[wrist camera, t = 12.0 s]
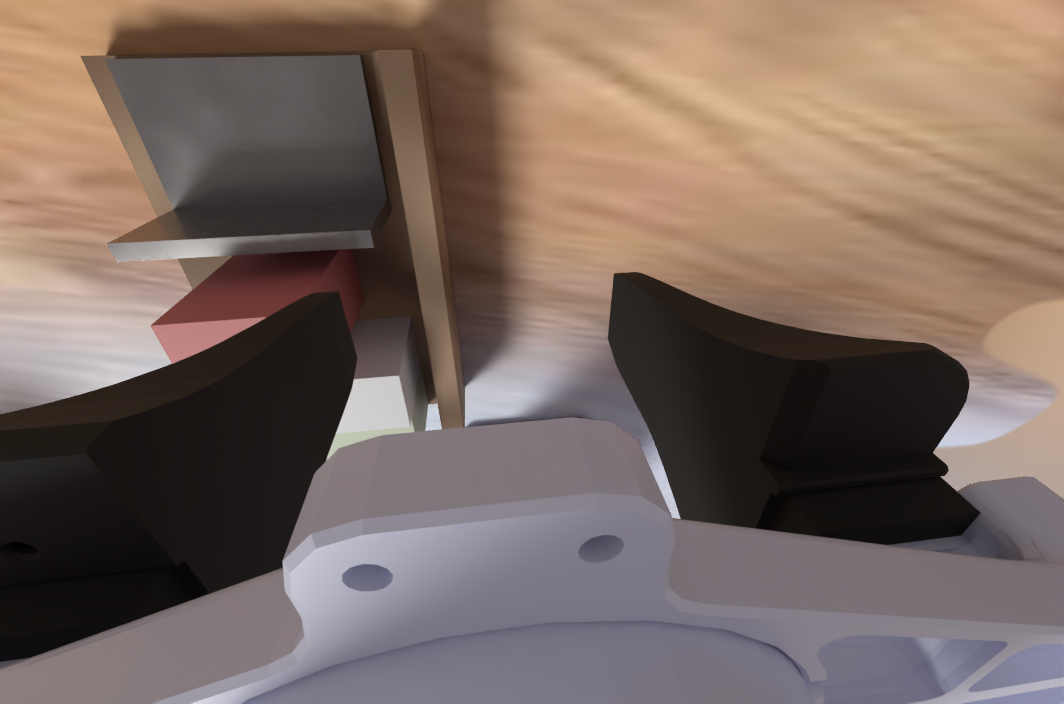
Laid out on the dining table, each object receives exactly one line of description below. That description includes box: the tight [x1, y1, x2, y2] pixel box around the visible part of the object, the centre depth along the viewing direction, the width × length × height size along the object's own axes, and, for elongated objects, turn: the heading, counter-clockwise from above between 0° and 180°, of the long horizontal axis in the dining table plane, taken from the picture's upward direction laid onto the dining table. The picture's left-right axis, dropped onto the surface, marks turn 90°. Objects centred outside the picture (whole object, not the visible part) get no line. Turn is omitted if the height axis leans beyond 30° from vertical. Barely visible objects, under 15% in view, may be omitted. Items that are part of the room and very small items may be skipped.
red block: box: [151, 249, 365, 364], centre depth 17 cm, size 3×4×7 cm
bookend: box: [105, 55, 392, 262], centre depth 15 cm, size 5×8×4 cm
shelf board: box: [81, 49, 465, 429], centre depth 19 cm, size 16×11×4 cm
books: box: [326, 316, 428, 461], centre depth 20 cm, size 6×8×5 cm
